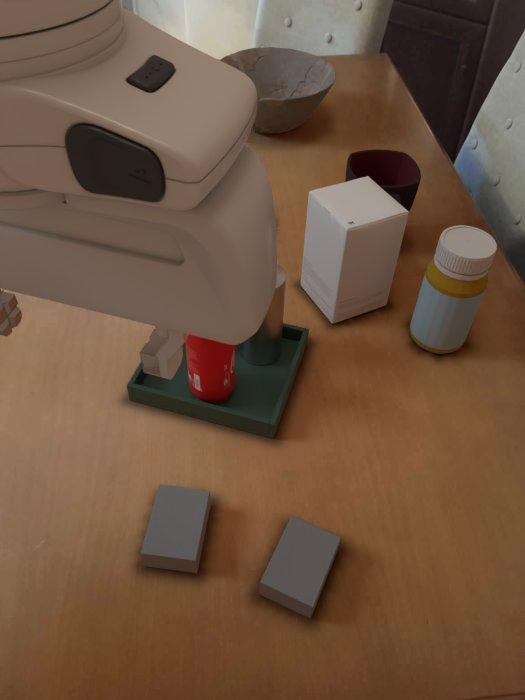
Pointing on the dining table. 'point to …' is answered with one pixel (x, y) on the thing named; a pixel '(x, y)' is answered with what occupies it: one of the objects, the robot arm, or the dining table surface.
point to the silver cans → (268, 329)
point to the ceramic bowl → (284, 85)
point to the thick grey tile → (176, 529)
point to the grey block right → (299, 566)
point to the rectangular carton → (351, 247)
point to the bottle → (452, 289)
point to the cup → (387, 173)
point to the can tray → (247, 396)
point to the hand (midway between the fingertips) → (81, 346)
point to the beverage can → (210, 369)
